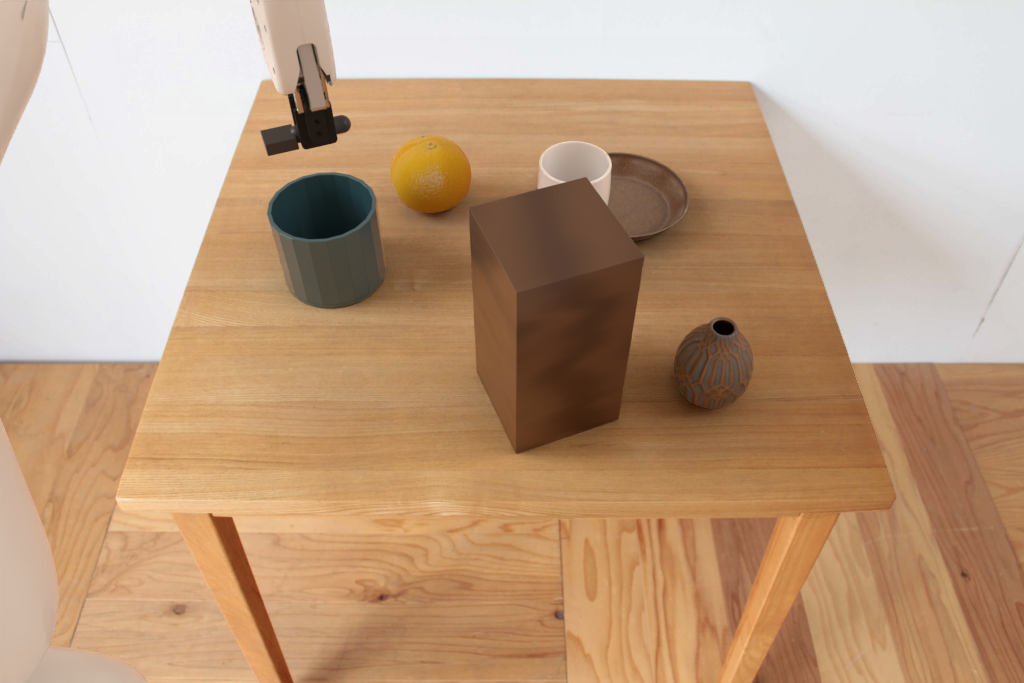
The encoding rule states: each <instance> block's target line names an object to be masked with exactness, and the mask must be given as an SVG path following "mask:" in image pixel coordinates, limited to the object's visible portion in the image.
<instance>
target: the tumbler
mask: <svg viewBox="0 0 1024 683" xmlns="http://www.w3.org/2000/svg"><path fill="white" fill-rule="evenodd" d="M266 216H267V219H268V223H269V227H270V231H271V234H272V237H273V242H274V244H275V248H276V252H277V255H278V259H279V262H280V266H281V269H282V273H283V276H284V279H285V283H286V286H287V288H288V290H289V292H290V294H291V295H293V297H294V298H295V299H297V300H298V301H300V302H301V303H304V304H306V305H308V306H311V307H314V308H320V309H339V308H345V307H350V306H353V305H355V304H358V303H361V302H362V301H364V300H366V299H367V298H370V297H371V296H372V295H373V294H374V293H375V292H376V291H377V290H378V289H379V288H380V287H381V285H382V284H383V282H384V281H385V277H386V275H387V259H386V253H385V247H384V246H385V245H384V239H383V232H382V226H381V220H380V213H379V206H378V201H377V196H376V195H375V192H374V190H373V188H372V187H371V185H369V184H367V182H366V181H364V180H363V179H361V178H359V177H356V176H354V175H351V174H348V173H344V172H343V173H342V172H336V171H328V172H315V173H311V174H306V175H303V176H300V177H297V178H296V179H294V180H291V181H289V182H288V183H287V182H286V184H285V185H283V186H282V187H280V188H279V189H278V190H277V191H275V193H274V194H273V196H272V197H271V198H270V200H269V202H268V206H267V211H266Z"/></svg>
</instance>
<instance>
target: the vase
mask: <svg viewBox="0 0 1024 683" xmlns="http://www.w3.org/2000/svg"><path fill="white" fill-rule="evenodd" d="M754 363H755V362H754V354H753V349H752V346H751V344H750V342H749V340H748V339H747V337H746V336H745V335H744V334H743V333H742V332H741V331H740V329H739V327H738V324H737V323H736V322H735V321H734V320H733V319H731V318H729V317H725V316H718V317H715V318H713V319H711V320H710V321H709V322H708V323H707V322H706V323H703V324H701V325H698V326H696V327H695V328H693V329H692V330H690V331H689V332H688V333H687V334H686V335H685V336H684V337H683V339H682V340H681V342H680V343H679V345H678V347H677V349H676V352H675V355H674V359H673V368H672V369H673V377H674V381H675V384H676V387H677V389H678V390H679V392H680V394H681V395H682V397H684V398H685V399H686V400H688V402H690V403H691V404H692V405H695V406H697V407H700V408H703V409H719V408H725V407H728V406H729V405H732V404H733V403H734V402H736V401H737V400H738V399H740V397H742V395H743V394H744V393H745V391H746V390H747V388H748V387H749V385H750V382H751V380H752V377H753V373H754V366H755V364H754Z"/></svg>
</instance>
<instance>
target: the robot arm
mask: <svg viewBox="0 0 1024 683" xmlns="http://www.w3.org/2000/svg"><path fill="white" fill-rule="evenodd" d="M249 4H250V8H251V12H252V16H253V21H254V26H255V32H256V36H257V40H258V46H259V49H260V52H261V54H262V57H263V59H264V63H265V66H266V68H267V70H268V74H269V75H270V78H271V80H272V82H273V85H274V87H275V90H276V91H277V93H279V94H280V95H282V96H284V97H285V96H287V99H288V103H289V108H290V113H291V118H292V120H293V126H294V125H297V128H298V133H299V137H300V142H301V143H300V145H301V148H302V149H303V150H311V149H315V148H320V147H325V146H329V145H333V144H336V143H337V142H338V135H337V133H336V128H335V123H334V113H333V107H332V102H331V100H330V98H329V92H328V88H327V84H329V86H330V87H332V86H333V85H334V84H335V83H336V81H337V69H336V63H335V62H336V61H335V54H334V48H333V43H332V36H331V31H330V26H329V20H328V14H327V9H326V4H325V0H249ZM49 27H50V0H0V166H1V165H2V162H3V160H4V158H5V155H6V153H7V151H8V148H9V146H10V143H11V141H12V138H13V136H14V134H15V133H16V130H17V127H18V126H19V123H20V121H21V119H22V117H23V114H24V113H25V111H26V108H27V106H28V104H29V102H30V100H31V98H32V96H33V93H34V91H35V89H36V85H37V84H38V80H39V77H40V74H41V71H42V68H43V64H44V60H45V57H46V52H47V46H48V39H49V38H48V37H49ZM13 448H14V447H13V446H12V442H11V440H10V438H9V435H8V433H7V431H6V428H5V425H4V423H3V420H2V417H1V416H0V683H150V682H149V681H148V679H147V678H146V676H145V675H144V674H143V673H142V672H141V671H140V670H139V669H138V668H137V667H135V666H134V665H132V663H129V662H127V661H126V660H124V659H121V658H118V657H117V656H113V655H111V654H106V653H102V652H98V651H95V650H89V649H82V648H77V647H69V646H58V645H50V644H51V642H52V639H53V636H54V634H55V632H56V628H57V622H58V614H59V606H60V588H59V587H60V586H59V577H58V572H57V566H56V563H55V558H54V555H53V550H52V547H51V544H50V541H49V539H48V536H47V533H46V530H45V528H44V525H43V522H42V519H41V517H40V513H39V512H38V509H37V507H36V504H35V502H34V499H33V496H32V494H31V492H30V489H29V486H28V484H27V481H26V478H25V476H24V473H23V470H22V469H21V466H20V463H19V461H18V458H17V455H16V454H15V450H14V449H13Z"/></svg>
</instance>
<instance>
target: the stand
mask: <svg viewBox="0 0 1024 683" xmlns="http://www.w3.org/2000/svg"><path fill="white" fill-rule="evenodd" d="M468 224H469V225H468V227H469V246H470V248H469V249H470V265H471V282H472V284H471V287H472V288H471V289H472V304H473V305H472V306H473V308H472V309H473V326H474V328H473V329H474V345H475V349H474V350H475V365H476V366H475V367H476V373H477V375H478V378H479V380H480V382H481V384H482V386H483V388H484V391H485V392H486V394H487V396H488V399H489V400H490V403H491V404H492V406H493V407H492V408H493V409H494V411H495V414H496V415H497V417H498V419H499V421H500V424H501V426H502V429H503V430H504V432H505V435H506V436H507V439H508V440H509V443H510V444H511V447H512V449H513V451H514V453H515V454H516V455H517V454H520V453H522V452H525V451H529V450H531V449H535V448H538V447H541V446H543V445H547V444H549V443H553V442H555V441H559V440H561V439H565V438H567V437H570V436H571V437H572V436H573V435H577V434H579V433H582V432H586V431H588V430H591V429H594V428H597V427H600V426H603V425H604V426H605V425H607V424H609V423H612V422H617V421H618V420H619V419H620V413H621V409H622V401H623V394H624V389H625V382H626V376H627V370H628V364H629V358H630V352H631V351H630V350H631V345H632V338H633V332H634V325H635V320H636V312H637V307H638V301H639V294H640V288H641V281H642V275H643V268H644V262H645V255H644V253H643V252H642V250H640V248H639V247H638V245H637V244H636V243H635V241H633V240H632V239H631V237H630V236H629V235H628V233H627V232H626V231H625V229H624V228H623V226H622V225H621V224H620V222H619V221H618V220H617V218H616V217H615V215H614V214H613V213H612V211H611V210H610V209H609V207H608V206H607V205H606V203H605V202H604V200H603V199H602V198H601V196H600V195H599V194H598V192H597V191H596V189H595V188H594V187H593V185H592V184H591V183H590V181H589V180H588V179H587V177H584V178H580V179H576V180H572V181H568V182H564V183H560V184H556V185H552V186H548V187H545V188H541V189H537V188H536V189H533V190H530V191H525V192H521V193H517V194H514V195H509V196H506V197H502V198H498V199H494V200H489V201H485V202H482V203H478V204H475V205H471V206H468Z"/></svg>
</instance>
